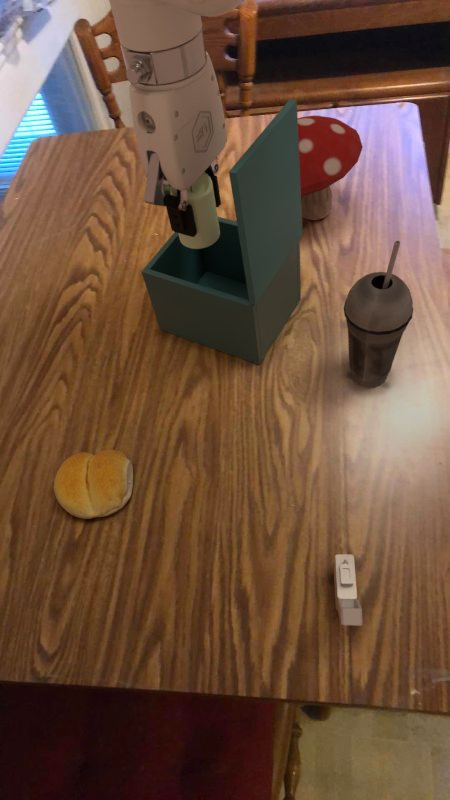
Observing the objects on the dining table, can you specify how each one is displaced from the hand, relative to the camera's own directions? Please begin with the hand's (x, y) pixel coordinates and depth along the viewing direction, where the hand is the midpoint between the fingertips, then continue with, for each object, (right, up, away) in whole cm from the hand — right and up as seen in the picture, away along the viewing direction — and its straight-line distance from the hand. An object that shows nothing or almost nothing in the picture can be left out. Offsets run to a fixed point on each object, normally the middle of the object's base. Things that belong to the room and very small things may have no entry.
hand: (196, 216), depth 67 cm
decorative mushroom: (+16, +7, +22) cm, 29 cm away
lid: (+8, -1, -7) cm, 10 cm away
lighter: (+15, -42, -11) cm, 46 cm away
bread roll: (-11, -32, -1) cm, 34 cm away
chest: (+4, -10, +12) cm, 16 cm away
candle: (0, -2, +2) cm, 3 cm away
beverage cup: (+21, -18, +4) cm, 28 cm away
